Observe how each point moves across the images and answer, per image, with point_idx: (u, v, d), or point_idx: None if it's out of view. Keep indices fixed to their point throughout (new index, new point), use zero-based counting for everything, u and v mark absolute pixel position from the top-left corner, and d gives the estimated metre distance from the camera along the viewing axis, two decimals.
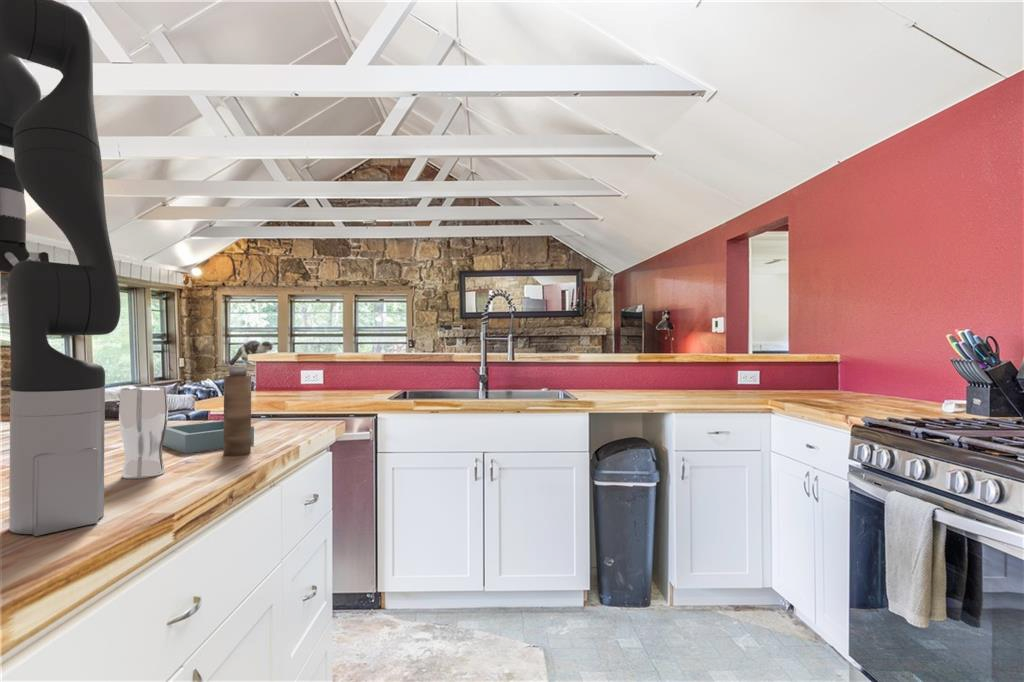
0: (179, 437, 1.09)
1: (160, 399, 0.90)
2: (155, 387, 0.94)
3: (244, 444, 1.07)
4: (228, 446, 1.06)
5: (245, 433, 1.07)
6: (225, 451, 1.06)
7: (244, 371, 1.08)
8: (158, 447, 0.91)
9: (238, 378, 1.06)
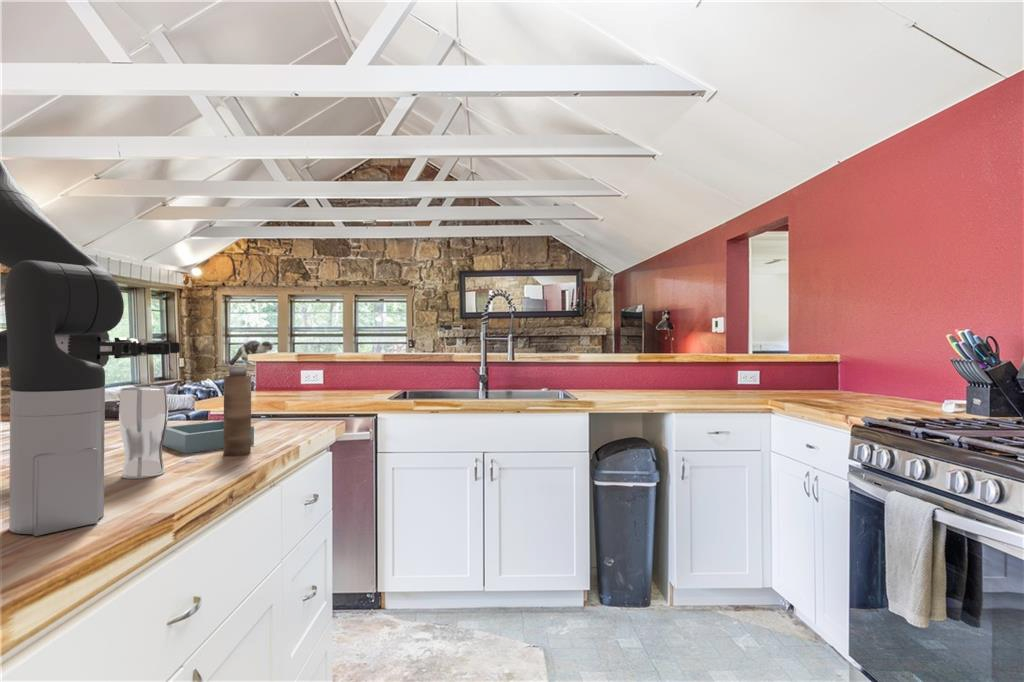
0: (179, 437, 1.09)
1: (160, 399, 0.90)
2: (155, 387, 0.94)
3: (244, 444, 1.07)
4: (228, 446, 1.06)
5: (245, 433, 1.07)
6: (225, 451, 1.06)
7: (244, 371, 1.08)
8: (158, 447, 0.91)
9: (238, 378, 1.06)
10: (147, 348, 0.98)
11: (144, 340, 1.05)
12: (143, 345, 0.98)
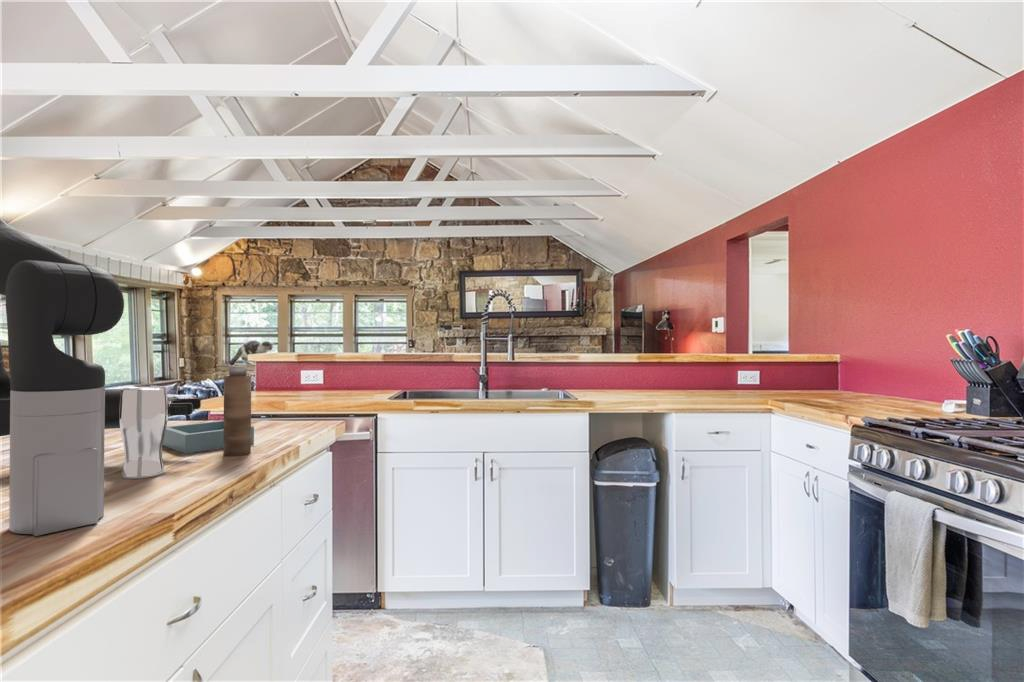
0: (179, 437, 1.09)
1: (160, 399, 0.90)
2: (155, 387, 0.94)
3: (244, 444, 1.07)
4: (228, 446, 1.06)
5: (245, 433, 1.07)
6: (225, 451, 1.06)
7: (244, 371, 1.08)
8: (158, 447, 0.91)
9: (238, 378, 1.06)
10: (170, 409, 0.99)
11: None
12: None
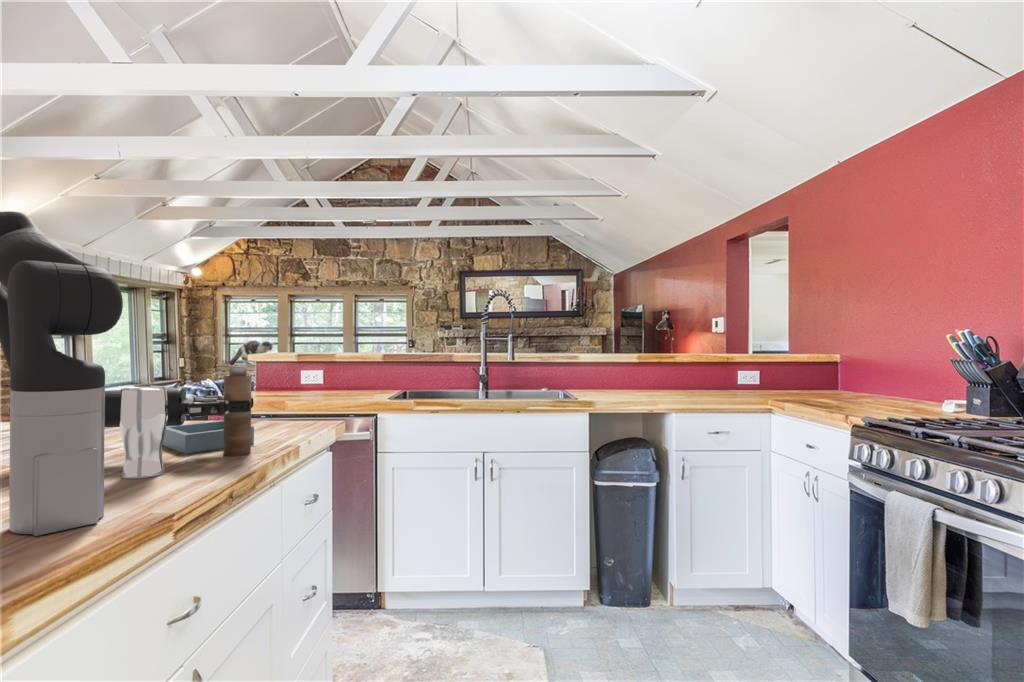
0: (179, 437, 1.09)
1: (160, 399, 0.90)
2: (155, 387, 0.94)
3: (244, 444, 1.07)
4: (228, 446, 1.06)
5: (245, 433, 1.07)
6: (225, 451, 1.06)
7: (244, 371, 1.08)
8: (158, 447, 0.91)
9: (238, 378, 1.06)
10: (231, 406, 1.05)
11: (219, 397, 1.09)
12: (228, 404, 1.04)
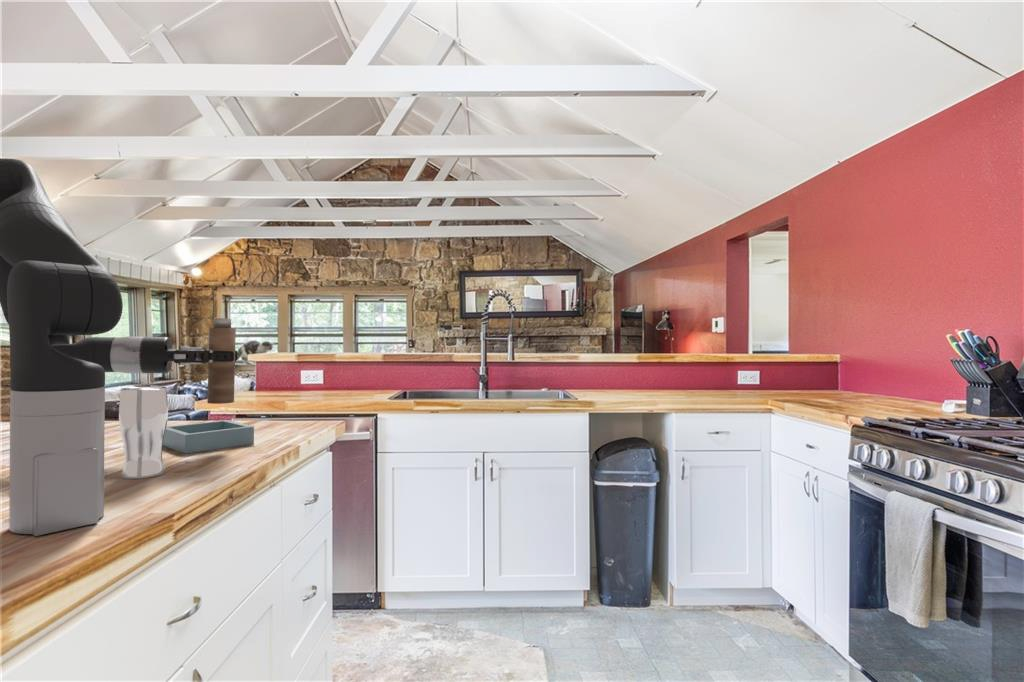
0: (179, 437, 1.09)
1: (160, 399, 0.90)
2: (155, 387, 0.94)
3: (228, 393, 1.12)
4: (211, 394, 1.11)
5: (228, 382, 1.12)
6: (209, 399, 1.11)
7: (228, 323, 1.13)
8: (158, 447, 0.91)
9: (222, 329, 1.11)
10: (215, 356, 1.09)
11: (204, 348, 1.13)
12: (212, 353, 1.09)
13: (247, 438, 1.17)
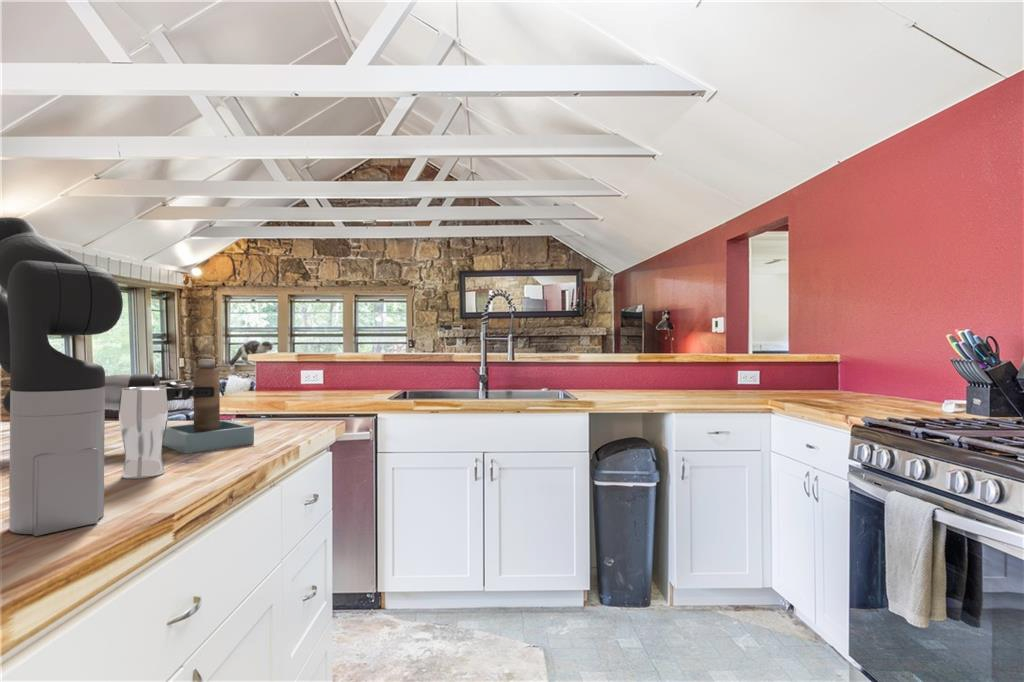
0: (179, 437, 1.09)
1: (160, 399, 0.90)
2: (155, 387, 0.94)
3: None
4: None
5: (213, 421, 1.16)
6: None
7: (212, 364, 1.17)
8: (158, 447, 0.91)
9: (206, 370, 1.15)
10: (195, 392, 1.12)
11: (190, 383, 1.19)
12: (192, 389, 1.12)
13: (247, 438, 1.17)
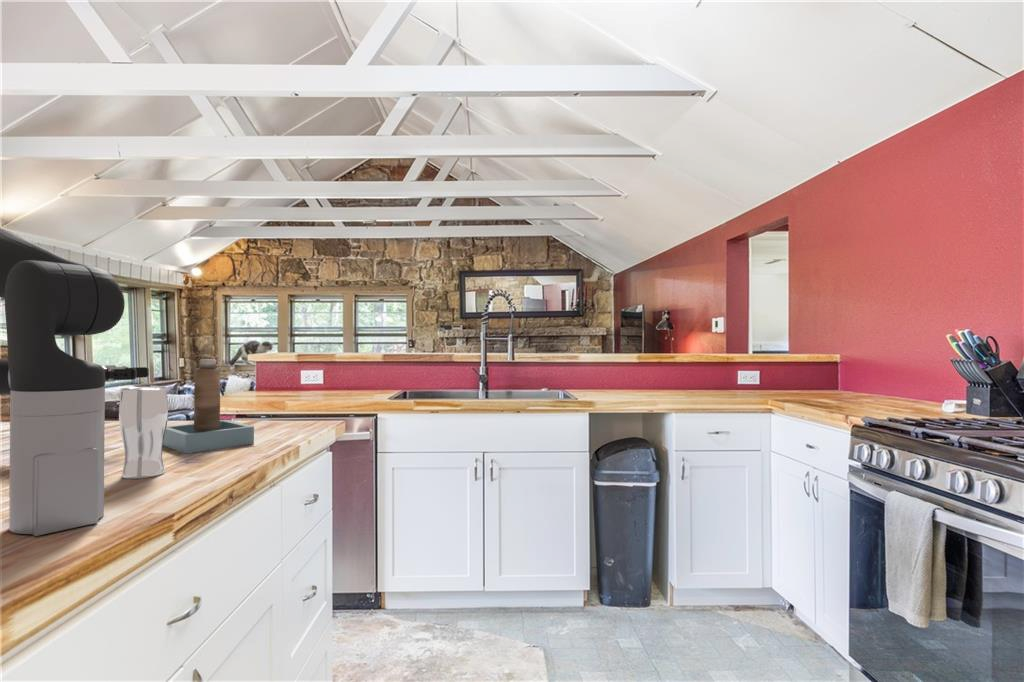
0: (179, 437, 1.09)
1: (160, 399, 0.90)
2: (155, 387, 0.94)
3: None
4: None
5: (214, 421, 1.16)
6: None
7: (213, 364, 1.17)
8: (158, 447, 0.91)
9: (207, 371, 1.15)
10: (114, 374, 1.04)
11: (113, 366, 1.11)
12: (110, 371, 1.04)
13: (247, 438, 1.17)
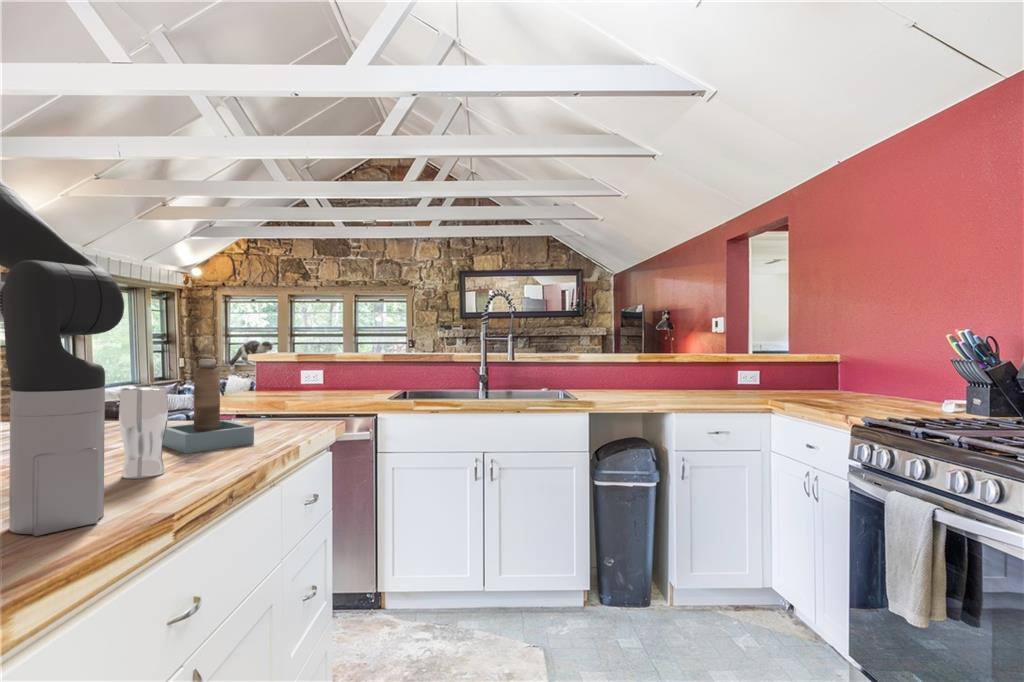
0: (179, 437, 1.09)
1: (160, 399, 0.90)
2: (155, 387, 0.94)
3: None
4: None
5: (214, 421, 1.16)
6: None
7: (213, 364, 1.17)
8: (158, 447, 0.91)
9: (207, 371, 1.15)
10: None
11: None
12: None
13: (247, 438, 1.17)
